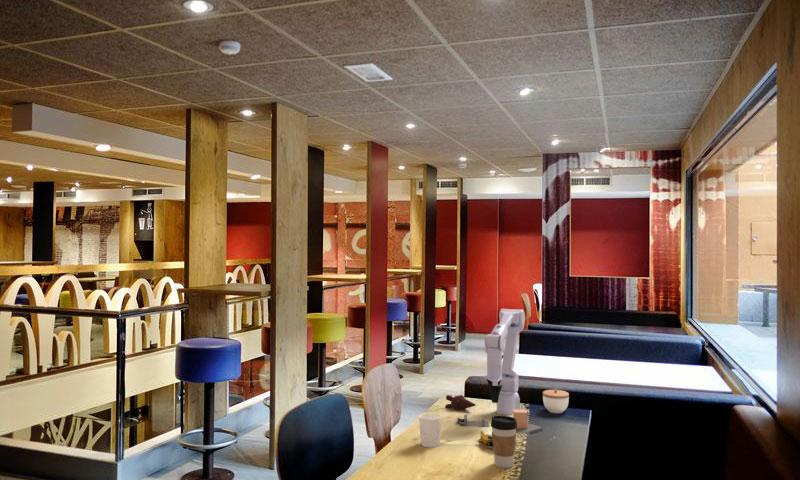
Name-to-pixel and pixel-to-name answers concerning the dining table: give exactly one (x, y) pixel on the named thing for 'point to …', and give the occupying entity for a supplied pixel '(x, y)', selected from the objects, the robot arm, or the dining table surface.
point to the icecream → (458, 402)
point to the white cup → (430, 429)
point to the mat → (529, 429)
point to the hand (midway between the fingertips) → (494, 399)
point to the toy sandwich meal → (486, 441)
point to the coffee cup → (503, 440)
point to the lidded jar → (555, 400)
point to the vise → (473, 422)
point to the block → (520, 418)
